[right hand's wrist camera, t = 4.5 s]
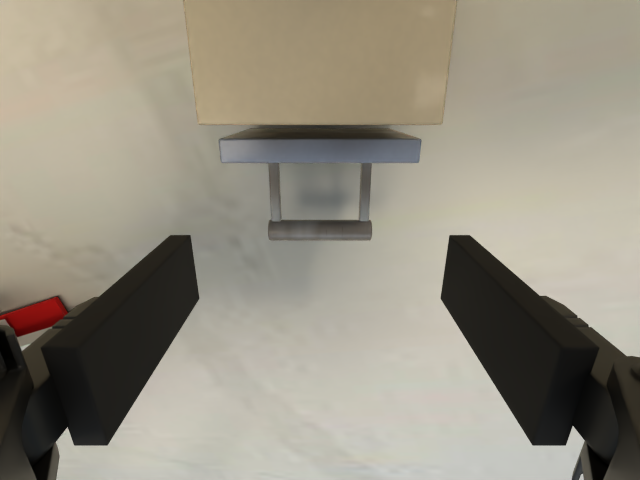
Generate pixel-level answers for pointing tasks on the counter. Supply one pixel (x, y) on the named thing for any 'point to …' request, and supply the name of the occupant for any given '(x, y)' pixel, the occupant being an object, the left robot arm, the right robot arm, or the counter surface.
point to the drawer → (320, 149)
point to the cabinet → (320, 61)
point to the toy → (34, 320)
